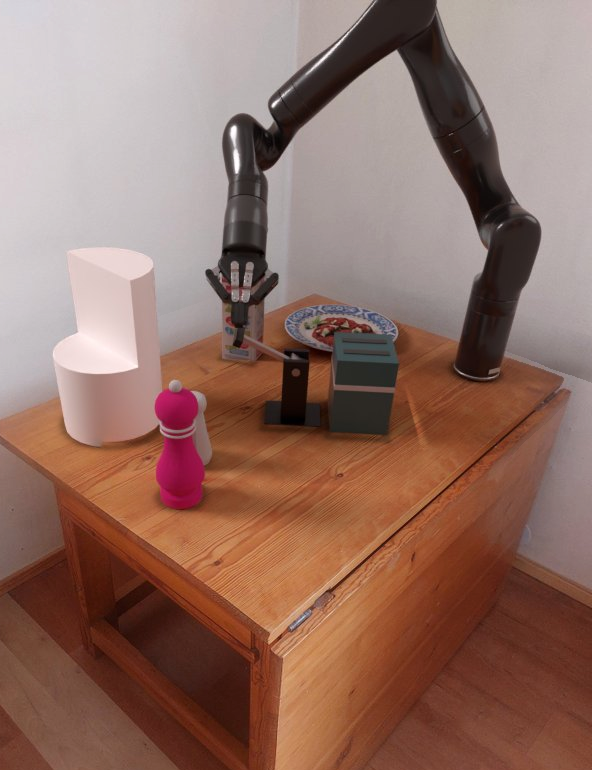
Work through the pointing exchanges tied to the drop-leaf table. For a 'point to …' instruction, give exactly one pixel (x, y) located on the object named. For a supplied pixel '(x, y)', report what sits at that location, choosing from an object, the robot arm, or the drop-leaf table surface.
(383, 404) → the toaster
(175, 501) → the pepper mill
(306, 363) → the bracket
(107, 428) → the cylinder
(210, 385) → the drop-leaf table surface
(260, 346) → the lever
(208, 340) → the drop-leaf table surface
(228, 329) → the juice carton
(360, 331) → the ceramic plate
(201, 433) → the salt shaker
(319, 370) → the drop-leaf table surface
